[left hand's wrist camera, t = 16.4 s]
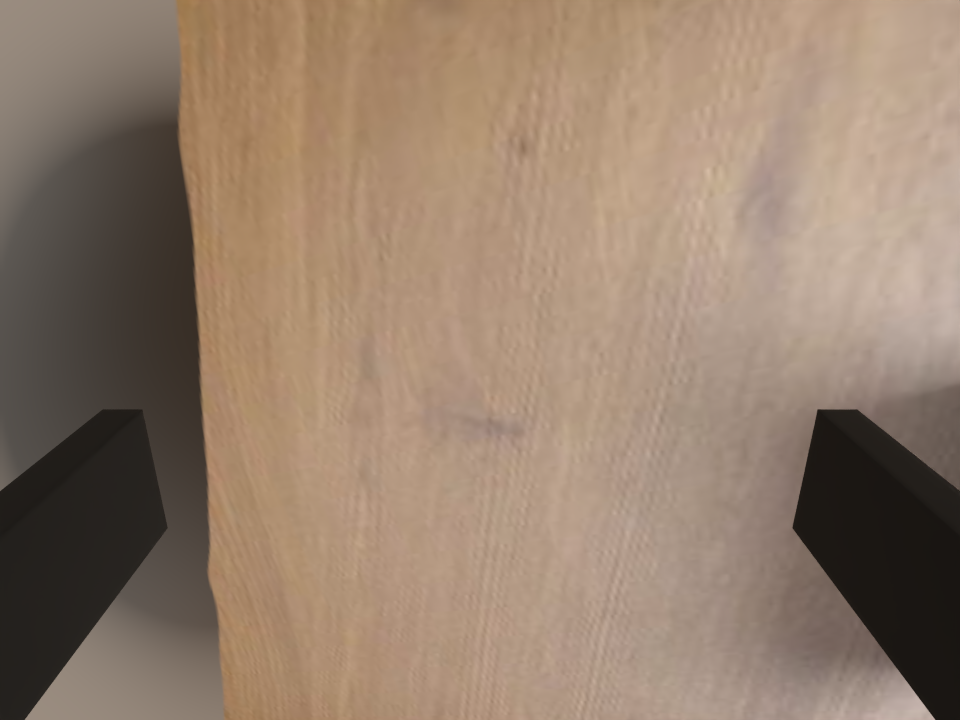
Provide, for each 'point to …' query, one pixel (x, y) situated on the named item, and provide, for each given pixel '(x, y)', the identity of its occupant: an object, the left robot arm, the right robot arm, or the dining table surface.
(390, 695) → the dining table surface
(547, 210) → the dining table surface
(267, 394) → the dining table surface
